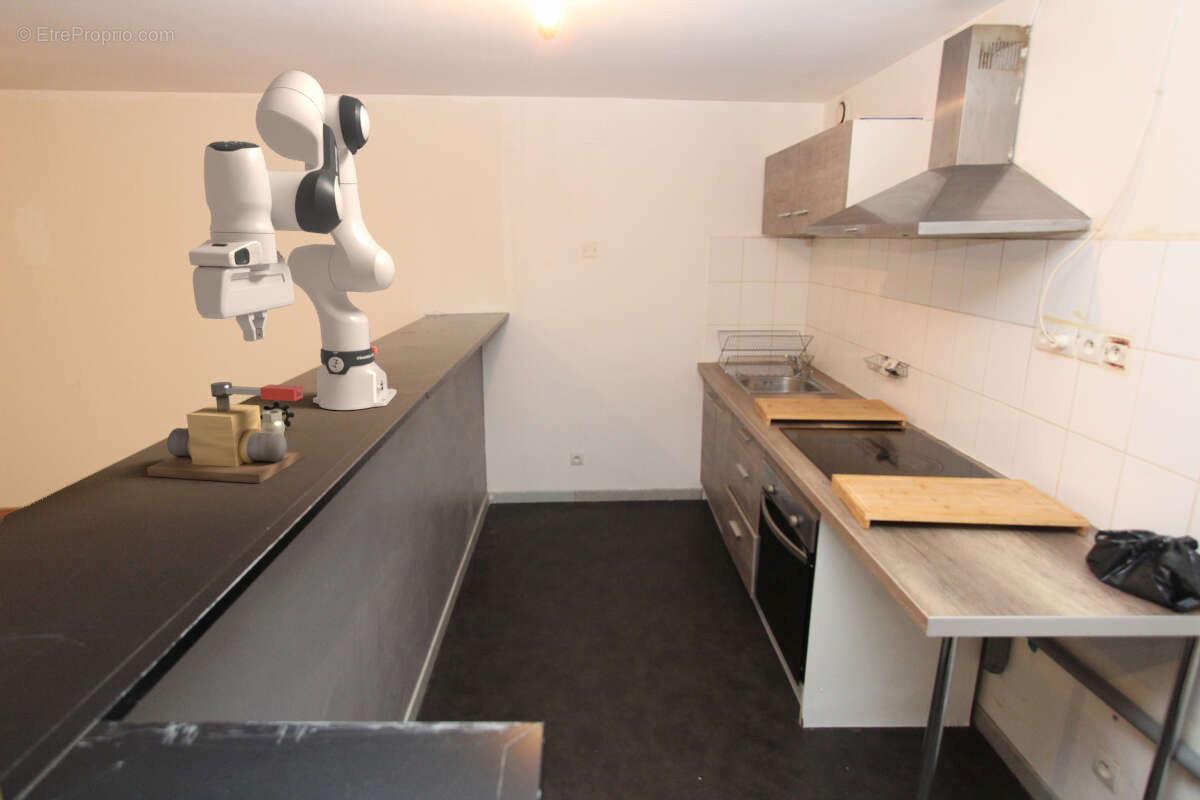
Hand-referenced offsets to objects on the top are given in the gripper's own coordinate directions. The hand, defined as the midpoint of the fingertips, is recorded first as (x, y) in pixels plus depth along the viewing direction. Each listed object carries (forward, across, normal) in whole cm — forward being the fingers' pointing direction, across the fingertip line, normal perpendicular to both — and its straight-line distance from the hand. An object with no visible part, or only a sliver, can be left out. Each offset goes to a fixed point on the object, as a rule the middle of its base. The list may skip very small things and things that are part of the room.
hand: (254, 340), depth 103 cm
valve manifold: (+24, -6, -11) cm, 27 cm away
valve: (+25, -24, -13) cm, 37 cm away
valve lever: (+11, -6, -5) cm, 14 cm away
